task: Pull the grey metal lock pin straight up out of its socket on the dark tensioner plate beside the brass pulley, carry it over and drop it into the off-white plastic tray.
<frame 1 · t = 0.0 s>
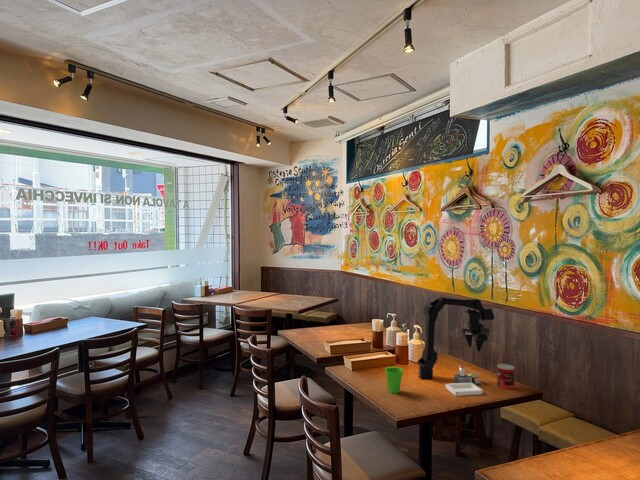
hand: (474, 349, 226), 15 cm above the table, fingers open, 9 cm apart
tensioner plate: (468, 383, 214), on the table
lock pin: (462, 382, 214), point 1 cm above the table, touching tensioner plate
canned food: (505, 388, 208), on the table
tray: (463, 392, 202), on the table
cup: (394, 392, 203), on the table
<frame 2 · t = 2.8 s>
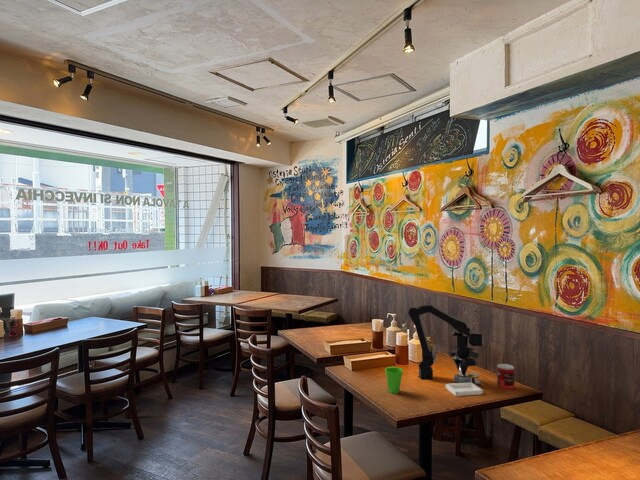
hand: (462, 374, 214), 5 cm above the table, fingers closed on lock pin, 3 cm apart
lock pin: (462, 382, 214), point 1 cm above the table, touching gripper, tensioner plate
everything else where it was.
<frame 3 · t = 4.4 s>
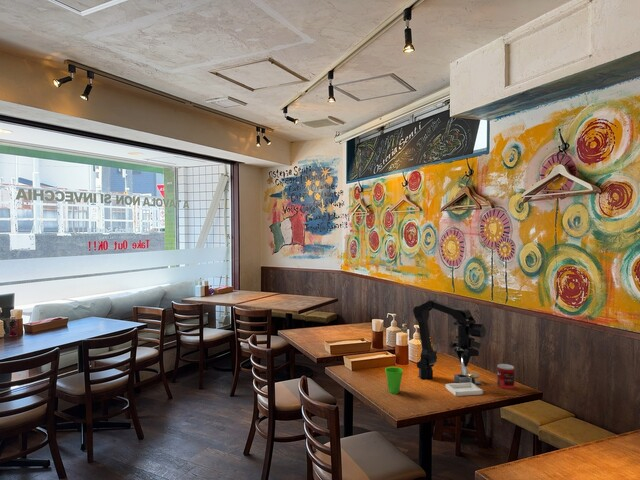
hand: (464, 365, 205), 12 cm above the table, fingers closed on lock pin, 3 cm apart
lock pin: (464, 374, 205), point 8 cm above the table, touching gripper
everything else where it was.
when the fingers open (6 cm above the table, at t = 5.8 s): lock pin drops 2 cm, resting on tray.
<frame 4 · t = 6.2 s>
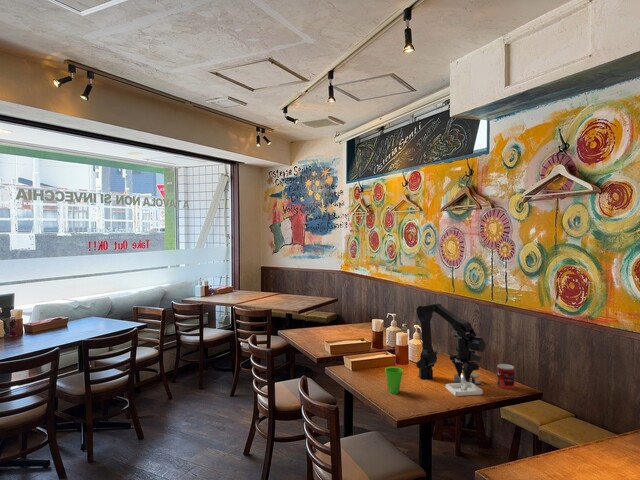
hand: (463, 378, 202), 6 cm above the table, fingers open, 7 cm apart
lock pin: (463, 390, 202), point 1 cm above the table, touching tray
everything else where it was.
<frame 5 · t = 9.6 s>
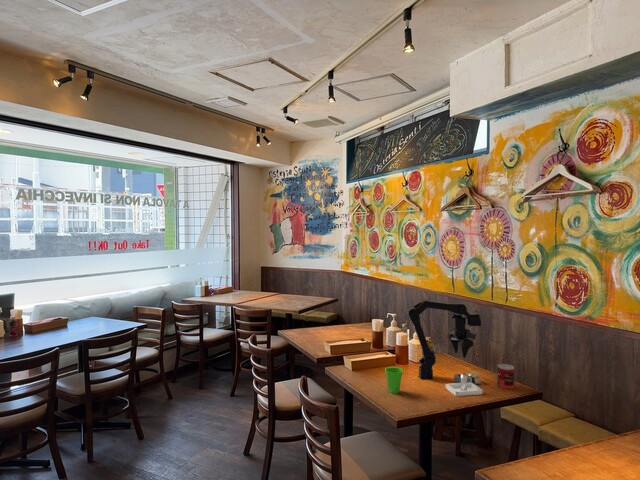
hand: (460, 355, 221), 13 cm above the table, fingers open, 9 cm apart
nothing on the table moved.
at the end: lock pin inside the target area on the tray (0.0 cm from its centre), point 0.6 cm above the tray's base; the gripper is holding nothing; lock pin touching tray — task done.
